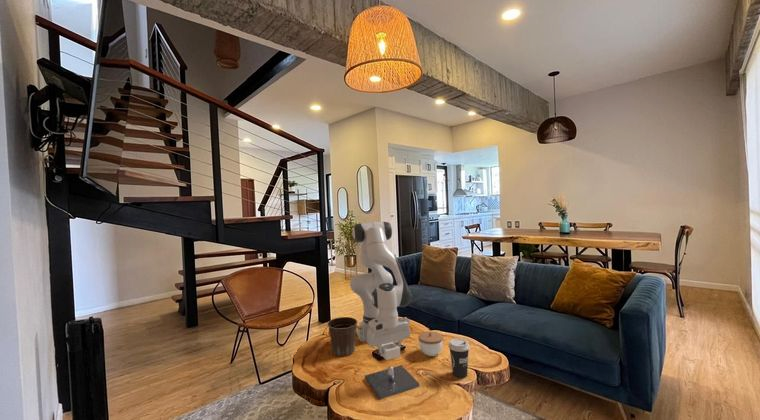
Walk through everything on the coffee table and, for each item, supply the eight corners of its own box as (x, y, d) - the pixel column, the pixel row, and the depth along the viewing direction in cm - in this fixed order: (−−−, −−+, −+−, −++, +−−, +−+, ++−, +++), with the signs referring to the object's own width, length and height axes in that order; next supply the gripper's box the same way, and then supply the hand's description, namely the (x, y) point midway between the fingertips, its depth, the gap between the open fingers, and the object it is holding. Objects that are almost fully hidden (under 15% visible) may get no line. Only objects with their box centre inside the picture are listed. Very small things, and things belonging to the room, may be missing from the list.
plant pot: (361, 344, 183) (359, 316, 183) (356, 358, 167) (354, 328, 167) (333, 344, 185) (331, 316, 184) (325, 358, 169) (323, 328, 168)
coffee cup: (455, 381, 143) (454, 348, 142) (445, 370, 152) (444, 339, 151) (474, 377, 145) (473, 344, 145) (463, 366, 155) (462, 336, 154)
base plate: (364, 378, 149) (364, 363, 148) (401, 368, 156) (400, 353, 156) (379, 399, 133) (378, 382, 133) (419, 386, 141) (418, 370, 140)
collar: (380, 353, 145) (379, 345, 145) (393, 350, 148) (393, 341, 148) (386, 360, 139) (386, 351, 139) (400, 356, 142) (400, 347, 142)
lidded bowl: (436, 361, 161) (435, 340, 160) (414, 355, 168) (413, 334, 168) (447, 351, 171) (446, 330, 170) (426, 345, 178) (425, 326, 178)
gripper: (405, 314, 150) (407, 343, 151) (364, 323, 142) (366, 353, 143) (412, 318, 145) (413, 348, 145) (370, 327, 136) (371, 359, 137)
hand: (389, 351), depth 144 cm, fingers closed on collar, 7 cm apart
